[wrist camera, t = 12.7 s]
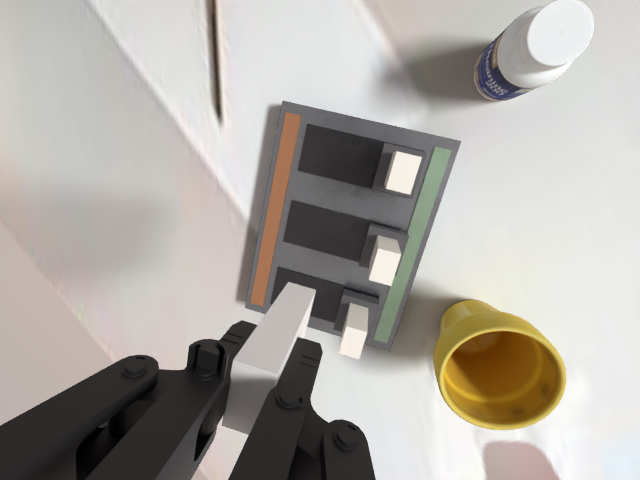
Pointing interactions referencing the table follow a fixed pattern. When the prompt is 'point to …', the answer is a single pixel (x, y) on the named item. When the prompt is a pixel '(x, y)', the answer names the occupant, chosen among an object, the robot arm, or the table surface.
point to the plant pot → (496, 367)
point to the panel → (341, 214)
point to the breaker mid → (383, 253)
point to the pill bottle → (534, 49)
